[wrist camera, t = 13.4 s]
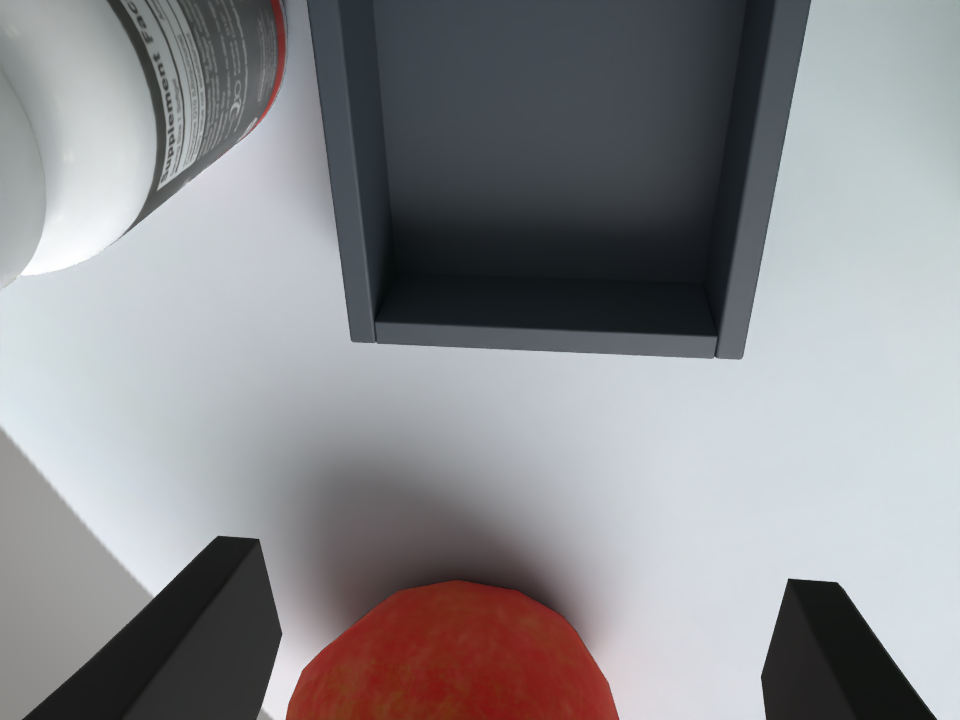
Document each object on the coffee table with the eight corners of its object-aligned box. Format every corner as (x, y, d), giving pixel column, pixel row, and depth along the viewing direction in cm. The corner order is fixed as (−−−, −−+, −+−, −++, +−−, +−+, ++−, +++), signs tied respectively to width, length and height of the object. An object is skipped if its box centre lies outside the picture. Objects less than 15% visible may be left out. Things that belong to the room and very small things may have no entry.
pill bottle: (83, 140, 19) (-309, 354, 11) (9, -135, 16) (-623, -133, 8) (310, 151, 18) (82, 386, 10) (280, -131, 15) (-83, -123, 7)
